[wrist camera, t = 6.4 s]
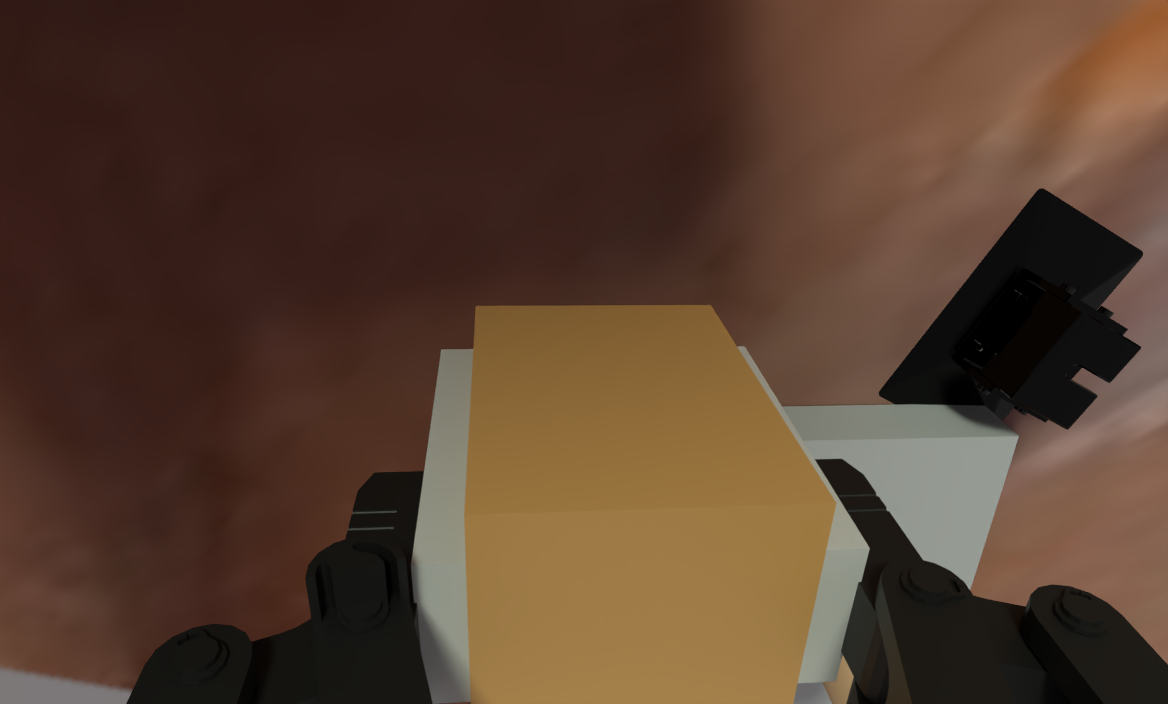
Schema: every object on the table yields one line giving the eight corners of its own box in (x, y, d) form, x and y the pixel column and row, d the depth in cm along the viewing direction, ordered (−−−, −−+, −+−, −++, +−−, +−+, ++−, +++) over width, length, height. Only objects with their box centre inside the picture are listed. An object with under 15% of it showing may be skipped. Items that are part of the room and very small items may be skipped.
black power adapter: (960, 471, 34) (1023, 541, 30) (827, 405, 32) (875, 471, 28) (1177, 223, 30) (1286, 266, 26) (1040, 129, 28) (1134, 158, 23)
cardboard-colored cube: (480, 502, 19) (473, 773, 12) (475, 305, 16) (463, 514, 10) (688, 496, 19) (782, 752, 13) (710, 304, 17) (836, 503, 11)
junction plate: (522, 678, 36) (528, 869, 28) (523, 411, 30) (530, 561, 22) (908, 659, 38) (1011, 834, 30) (982, 403, 32) (1134, 540, 24)
